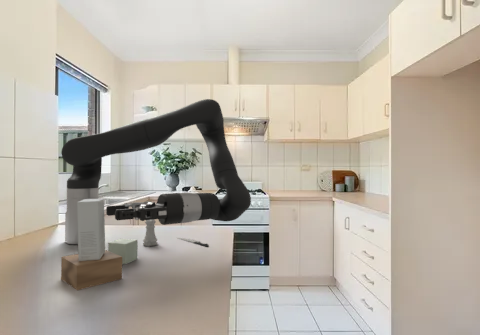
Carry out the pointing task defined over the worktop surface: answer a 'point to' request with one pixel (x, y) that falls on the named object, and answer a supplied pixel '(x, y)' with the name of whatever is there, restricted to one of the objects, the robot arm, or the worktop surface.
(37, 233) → the worktop surface
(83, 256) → the skincare box
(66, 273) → the walnut block
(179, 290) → the worktop surface
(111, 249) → the grey-green cube
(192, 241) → the chef's knife
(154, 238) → the rook chess piece
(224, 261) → the worktop surface
